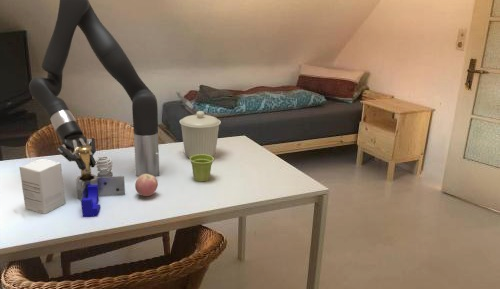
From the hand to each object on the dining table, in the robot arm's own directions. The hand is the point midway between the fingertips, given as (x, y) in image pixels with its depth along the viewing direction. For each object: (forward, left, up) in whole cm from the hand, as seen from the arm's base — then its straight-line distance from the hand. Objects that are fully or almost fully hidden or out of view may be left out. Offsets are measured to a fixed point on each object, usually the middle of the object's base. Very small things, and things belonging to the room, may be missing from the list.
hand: (89, 167), depth 147 cm
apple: (-19, 0, -12) cm, 22 cm away
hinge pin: (+1, -2, -5) cm, 6 cm away
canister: (-42, -39, -12) cm, 58 cm away
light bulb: (-4, -10, -12) cm, 16 cm away
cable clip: (-2, +8, -12) cm, 15 cm away
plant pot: (-40, -13, -12) cm, 43 cm away
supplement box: (+14, +5, -12) cm, 19 cm away
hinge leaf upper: (-3, -2, -11) cm, 12 cm away
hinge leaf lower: (+1, +3, -11) cm, 12 cm away
